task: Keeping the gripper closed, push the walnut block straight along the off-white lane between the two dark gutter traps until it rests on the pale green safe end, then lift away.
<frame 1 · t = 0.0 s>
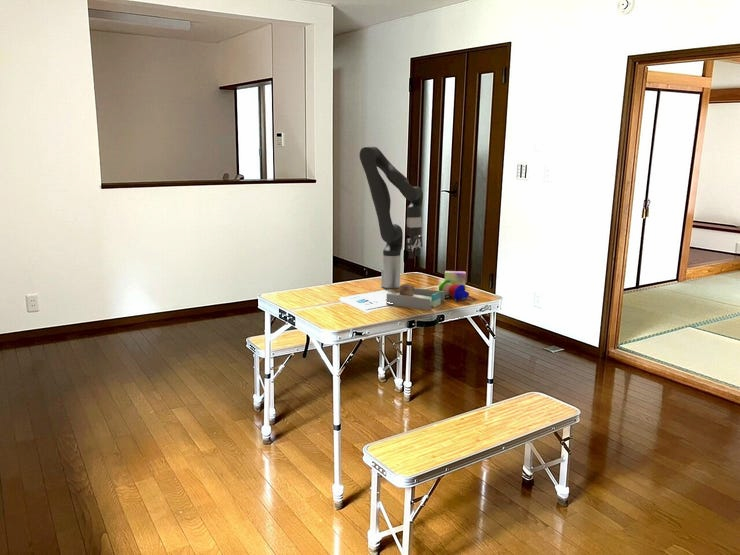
hand: (414, 257, 322), 17 cm above the table, tool pointing down, fingers open, 8 cm apart
walnut block: (406, 295, 299), point 3 cm above the table, touching trap track
box: (454, 295, 314), on the table
trap track: (415, 302, 297), on the table
toy figure: (452, 300, 304), on the table
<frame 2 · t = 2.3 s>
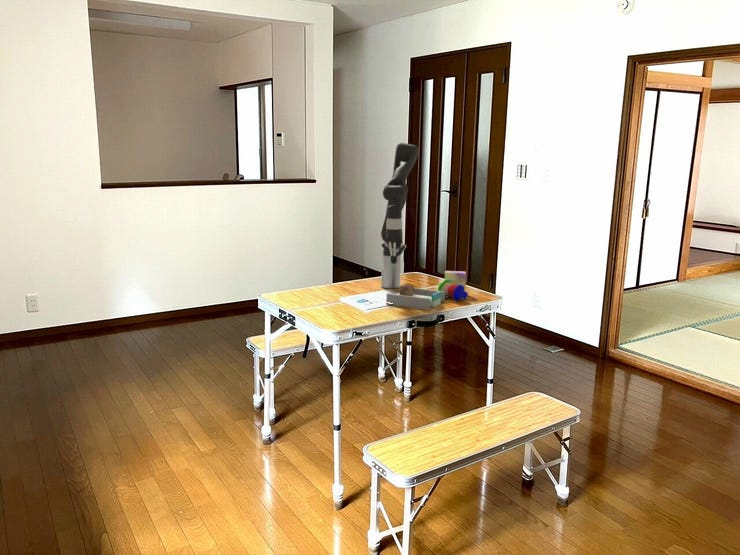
hand: (394, 263, 300), 18 cm above the table, tool pointing down, fingers closed
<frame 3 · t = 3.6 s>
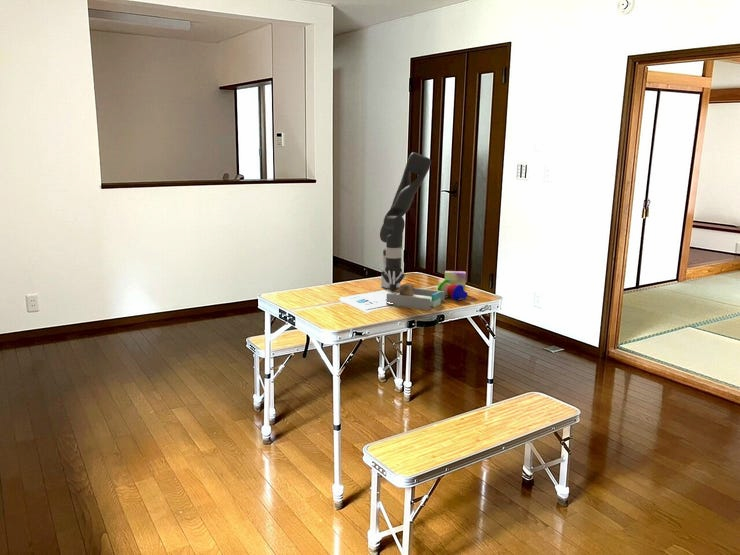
hand: (393, 291, 302), 4 cm above the table, tool pointing down, fingers closed
nothing on the table moved.
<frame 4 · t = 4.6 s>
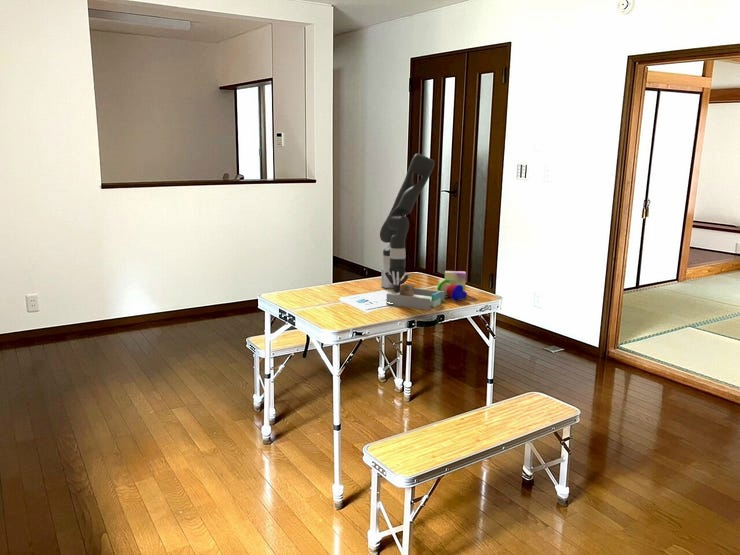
hand: (397, 292, 301), 4 cm above the table, tool pointing down, fingers closed
walnut block: (406, 295, 299), point 3 cm above the table, touching gripper, trap track
everything else where it was.
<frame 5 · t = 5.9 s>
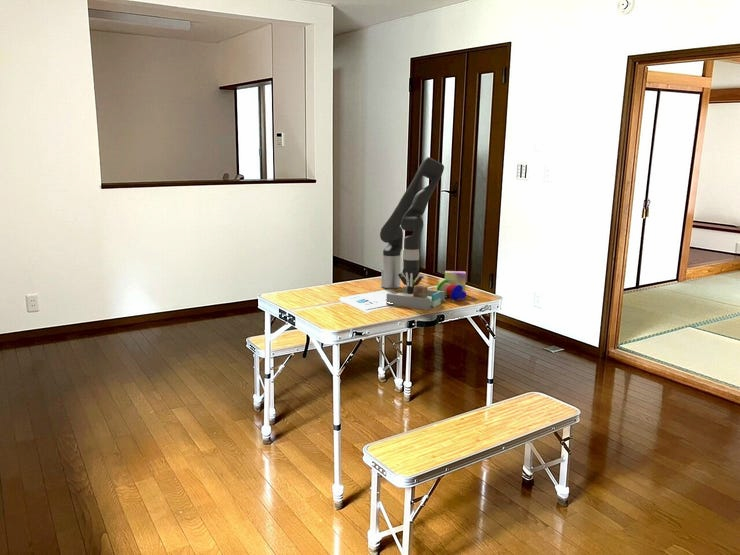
hand: (410, 293, 297), 4 cm above the table, tool pointing down, fingers closed
walnut block: (420, 297, 295), point 3 cm above the table, touching gripper
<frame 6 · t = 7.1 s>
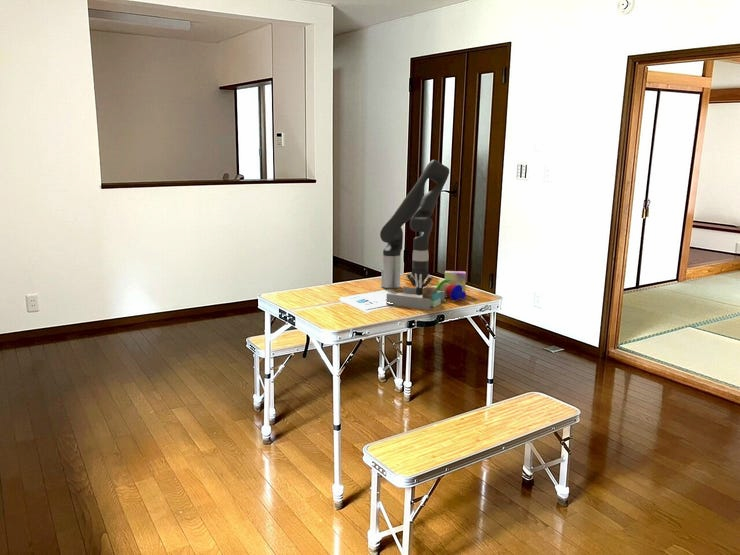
hand: (419, 295, 295), 4 cm above the table, tool pointing down, fingers closed
walnut block: (429, 298, 293), point 3 cm above the table, touching gripper, trap track
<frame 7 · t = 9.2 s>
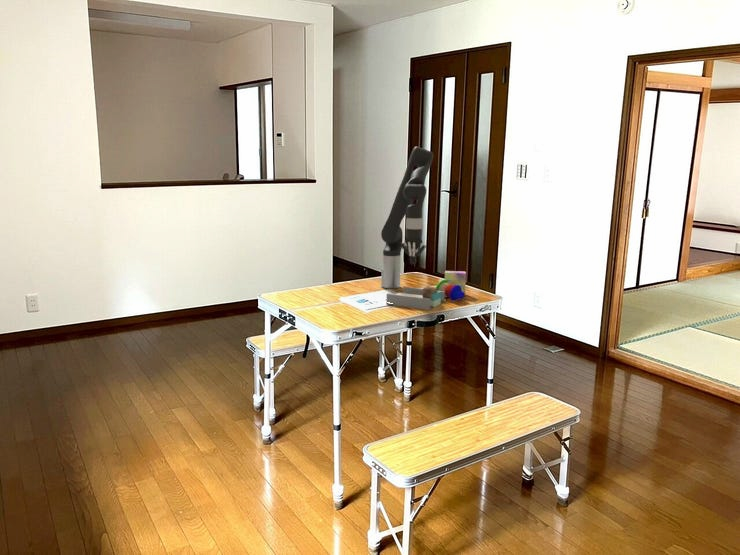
hand: (412, 263, 294), 19 cm above the table, tool pointing down, fingers closed
walnut block: (429, 298, 293), point 3 cm above the table, touching trap track
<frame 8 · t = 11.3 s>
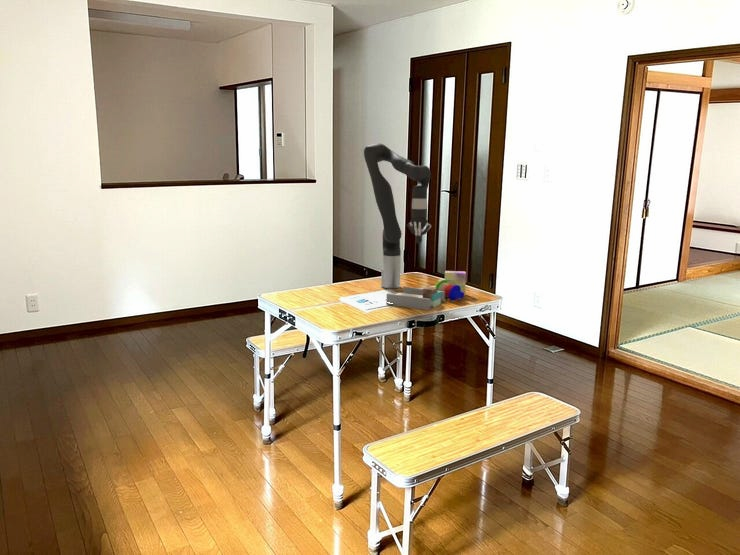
hand: (418, 243, 304), 27 cm above the table, tool pointing down, fingers closed
at the end: walnut block 0.4 cm from the target spot on the trap track, point 3.0 cm above the trap track's base; walnut block tilted 0° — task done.
